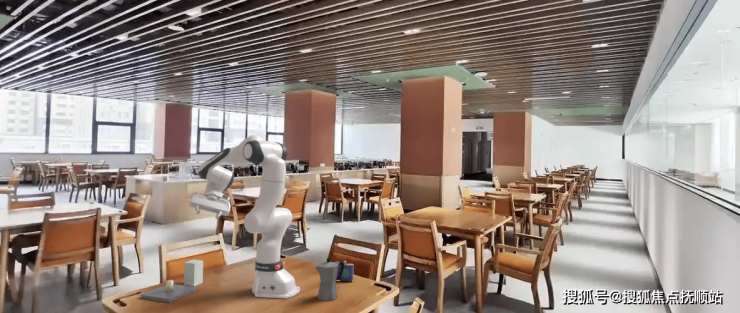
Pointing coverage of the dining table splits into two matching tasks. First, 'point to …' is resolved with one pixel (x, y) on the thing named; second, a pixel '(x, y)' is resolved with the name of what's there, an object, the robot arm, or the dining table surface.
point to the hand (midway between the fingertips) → (207, 215)
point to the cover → (193, 272)
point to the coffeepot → (328, 279)
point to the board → (168, 292)
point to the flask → (346, 272)
